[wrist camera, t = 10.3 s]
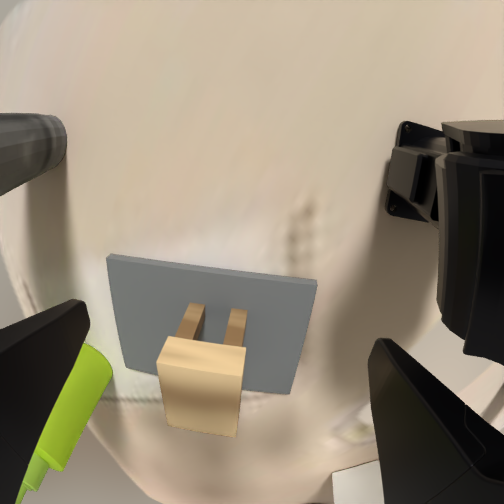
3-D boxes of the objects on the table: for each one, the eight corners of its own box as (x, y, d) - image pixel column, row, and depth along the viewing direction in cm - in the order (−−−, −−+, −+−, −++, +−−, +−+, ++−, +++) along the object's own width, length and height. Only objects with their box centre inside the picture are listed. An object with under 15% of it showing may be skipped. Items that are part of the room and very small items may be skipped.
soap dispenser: (90, 386, 30) (22, 517, 12) (59, 343, 28) (-32, 477, 10) (126, 387, 29) (59, 539, 11) (94, 340, 27) (-3, 501, 9)
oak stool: (244, 371, 25) (235, 437, 19) (188, 363, 26) (168, 425, 19) (252, 307, 22) (242, 376, 16) (186, 298, 23) (156, 362, 16)
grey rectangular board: (316, 279, 22) (317, 285, 21) (289, 388, 27) (289, 394, 26) (110, 253, 23) (106, 257, 22) (128, 362, 28) (125, 367, 27)
